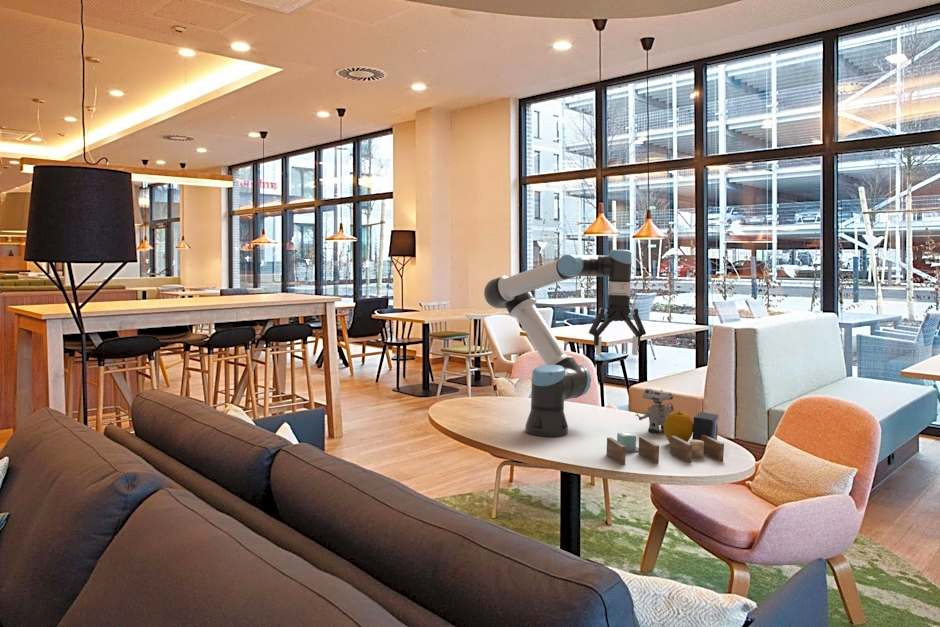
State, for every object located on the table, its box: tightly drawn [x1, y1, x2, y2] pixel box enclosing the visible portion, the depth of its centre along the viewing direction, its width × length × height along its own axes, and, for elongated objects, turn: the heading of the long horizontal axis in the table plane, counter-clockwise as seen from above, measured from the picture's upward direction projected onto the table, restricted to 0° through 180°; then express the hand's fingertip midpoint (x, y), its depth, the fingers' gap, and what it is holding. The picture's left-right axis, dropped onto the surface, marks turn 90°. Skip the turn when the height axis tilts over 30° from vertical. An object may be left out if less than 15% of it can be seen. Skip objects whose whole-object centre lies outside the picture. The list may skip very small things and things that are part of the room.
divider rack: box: [606, 435, 725, 466], centre depth 215 cm, size 34×11×6 cm, turn 102°
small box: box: [691, 411, 719, 441], centre depth 231 cm, size 11×6×10 cm, turn 149°
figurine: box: [635, 388, 675, 435], centre depth 251 cm, size 9×12×15 cm
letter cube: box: [616, 432, 637, 450], centre depth 224 cm, size 4×4×5 cm
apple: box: [662, 410, 693, 444], centre depth 231 cm, size 10×10×12 cm
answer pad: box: [626, 446, 639, 454], centre depth 225 cm, size 8×8×1 cm
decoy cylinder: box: [688, 439, 704, 460], centre depth 217 cm, size 4×4×5 cm
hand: (616, 355), depth 240 cm, fingers open, 13 cm apart
